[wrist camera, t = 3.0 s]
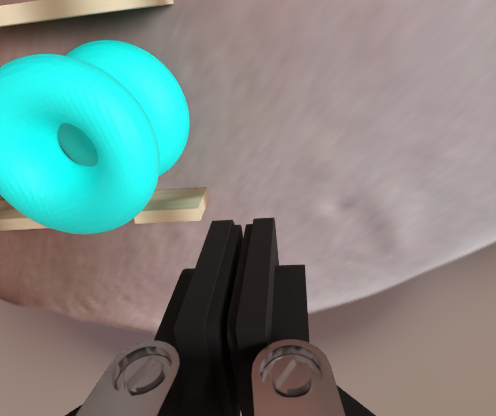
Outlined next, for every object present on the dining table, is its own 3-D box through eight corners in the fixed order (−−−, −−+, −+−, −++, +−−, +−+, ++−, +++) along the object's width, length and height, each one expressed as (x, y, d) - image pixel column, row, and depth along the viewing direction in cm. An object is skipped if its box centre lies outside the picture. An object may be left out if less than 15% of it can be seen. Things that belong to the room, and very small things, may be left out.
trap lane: (170, -15, 24) (143, -17, 20) (209, 198, 31) (195, 231, 27) (-153, 31, 27) (-236, 37, 23) (-52, 213, 34) (-101, 245, 30)
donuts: (88, 26, 16) (180, 222, 21) (159, 16, 25) (213, 155, 29) (-87, 96, 19) (28, 259, 23) (34, 64, 27) (101, 187, 32)
